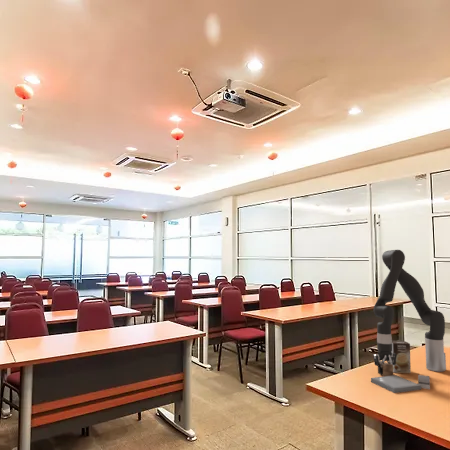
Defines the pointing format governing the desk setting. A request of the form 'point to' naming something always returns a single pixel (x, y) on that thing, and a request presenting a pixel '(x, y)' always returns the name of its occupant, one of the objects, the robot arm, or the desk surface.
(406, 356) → the coffee box
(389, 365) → the walnut cube
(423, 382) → the felt board eraser
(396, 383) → the slate platform
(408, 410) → the desk surface
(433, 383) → the desk surface
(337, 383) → the desk surface
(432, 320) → the robot arm
